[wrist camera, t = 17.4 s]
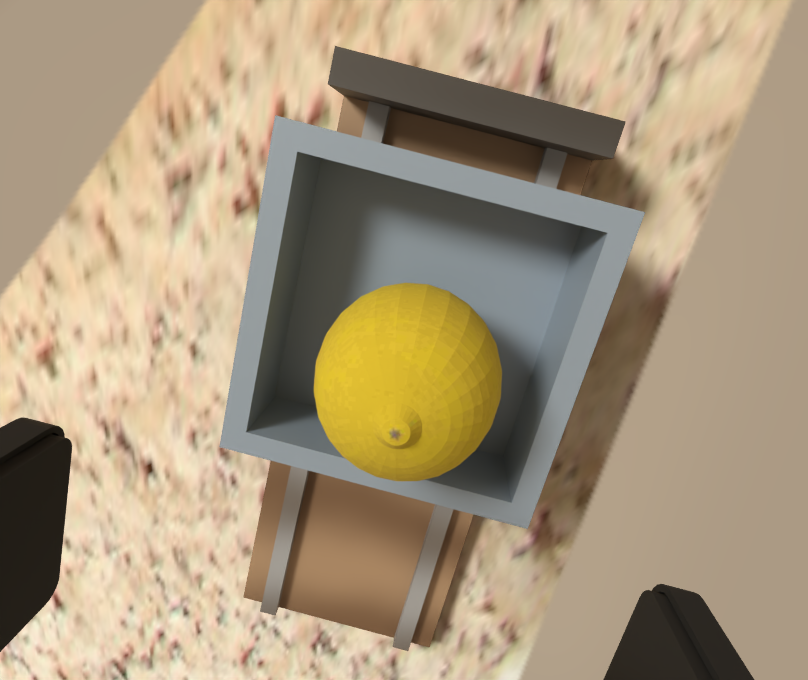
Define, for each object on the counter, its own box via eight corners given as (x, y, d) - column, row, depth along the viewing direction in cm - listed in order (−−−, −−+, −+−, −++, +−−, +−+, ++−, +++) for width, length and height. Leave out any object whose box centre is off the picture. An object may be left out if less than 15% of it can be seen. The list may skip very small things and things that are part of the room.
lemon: (317, 303, 21) (237, 376, 13) (455, 239, 20) (457, 278, 12) (382, 430, 22) (344, 565, 14) (516, 376, 21) (552, 491, 13)
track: (430, 632, 30) (426, 698, 26) (250, 584, 30) (220, 643, 26) (596, 130, 23) (625, 121, 19) (354, 67, 23) (335, 45, 19)
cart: (510, 446, 25) (527, 528, 19) (273, 383, 25) (219, 446, 19) (594, 202, 22) (645, 212, 16) (322, 130, 22) (275, 115, 16)
